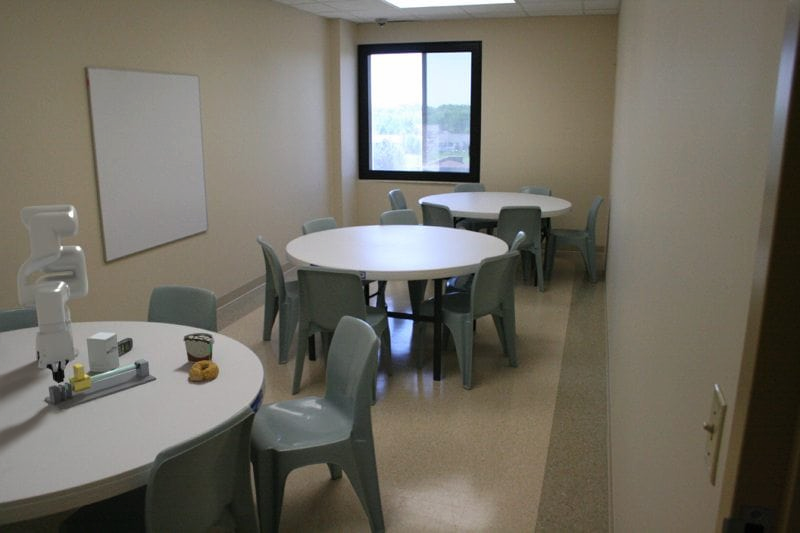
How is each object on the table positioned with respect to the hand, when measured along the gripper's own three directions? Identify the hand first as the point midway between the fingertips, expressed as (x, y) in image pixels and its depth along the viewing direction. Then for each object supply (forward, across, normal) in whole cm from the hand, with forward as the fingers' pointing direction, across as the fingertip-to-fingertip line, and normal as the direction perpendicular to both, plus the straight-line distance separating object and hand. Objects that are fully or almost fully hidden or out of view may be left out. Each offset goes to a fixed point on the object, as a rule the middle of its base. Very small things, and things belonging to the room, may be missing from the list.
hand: (59, 381), depth 203 cm
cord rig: (+7, -12, 0) cm, 14 cm away
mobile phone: (+8, -34, -27) cm, 44 cm away
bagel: (+8, -42, +16) cm, 45 cm away
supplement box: (+7, -22, -17) cm, 29 cm away
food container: (+7, -50, +3) cm, 51 cm away
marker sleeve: (+5, -6, 0) cm, 8 cm away
